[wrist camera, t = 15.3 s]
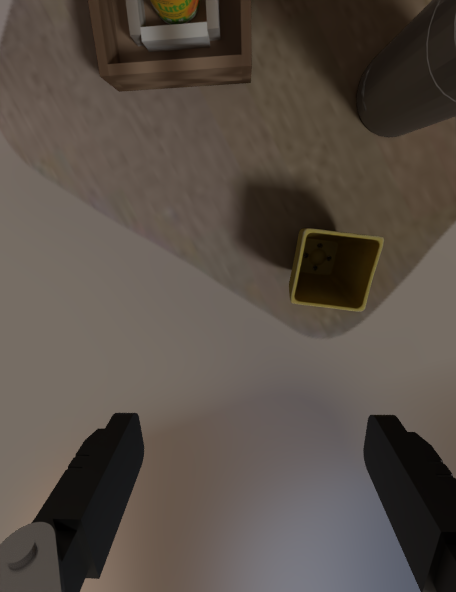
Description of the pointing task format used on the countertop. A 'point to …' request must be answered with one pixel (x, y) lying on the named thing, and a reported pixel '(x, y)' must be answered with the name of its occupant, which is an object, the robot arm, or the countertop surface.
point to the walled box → (171, 45)
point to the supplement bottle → (176, 10)
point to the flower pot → (334, 269)
